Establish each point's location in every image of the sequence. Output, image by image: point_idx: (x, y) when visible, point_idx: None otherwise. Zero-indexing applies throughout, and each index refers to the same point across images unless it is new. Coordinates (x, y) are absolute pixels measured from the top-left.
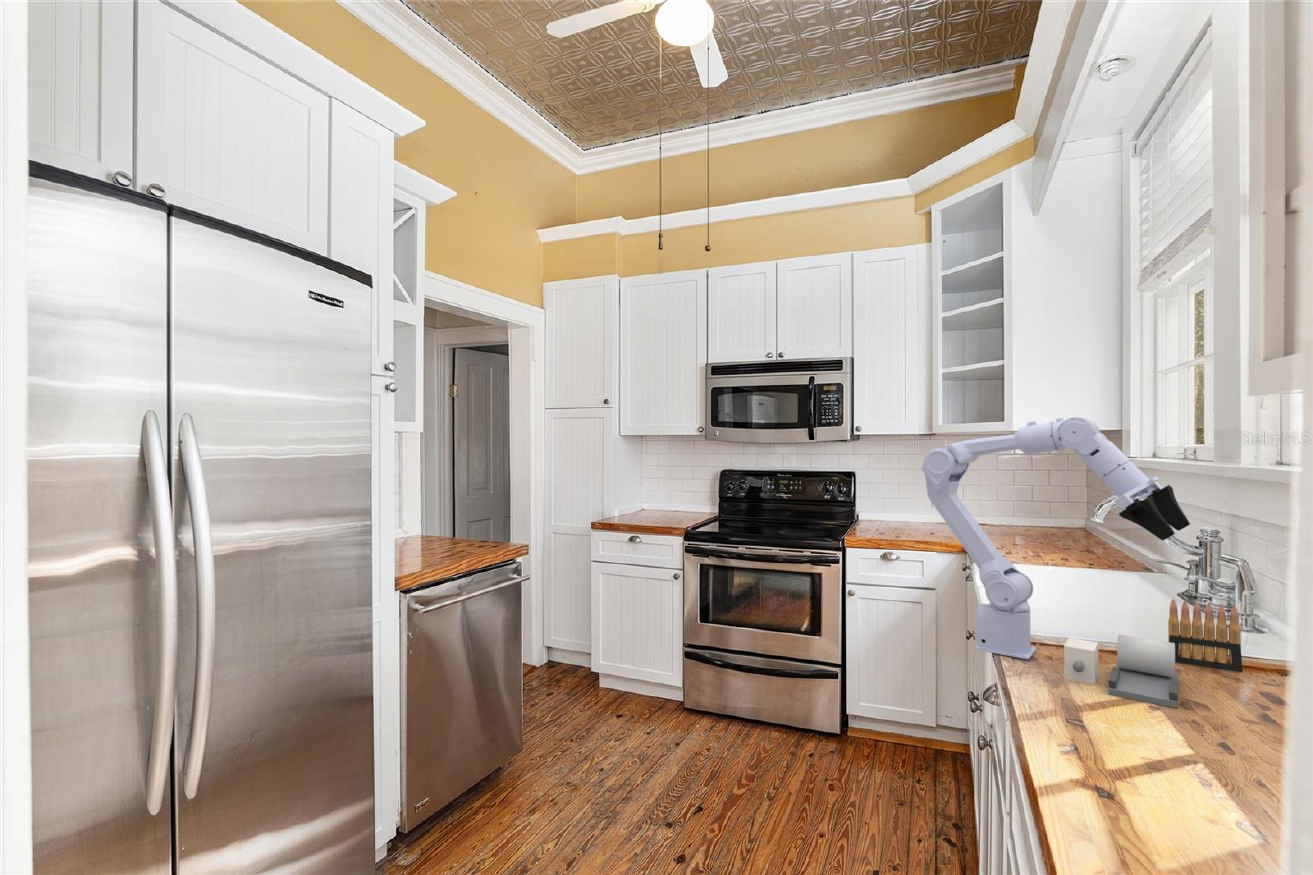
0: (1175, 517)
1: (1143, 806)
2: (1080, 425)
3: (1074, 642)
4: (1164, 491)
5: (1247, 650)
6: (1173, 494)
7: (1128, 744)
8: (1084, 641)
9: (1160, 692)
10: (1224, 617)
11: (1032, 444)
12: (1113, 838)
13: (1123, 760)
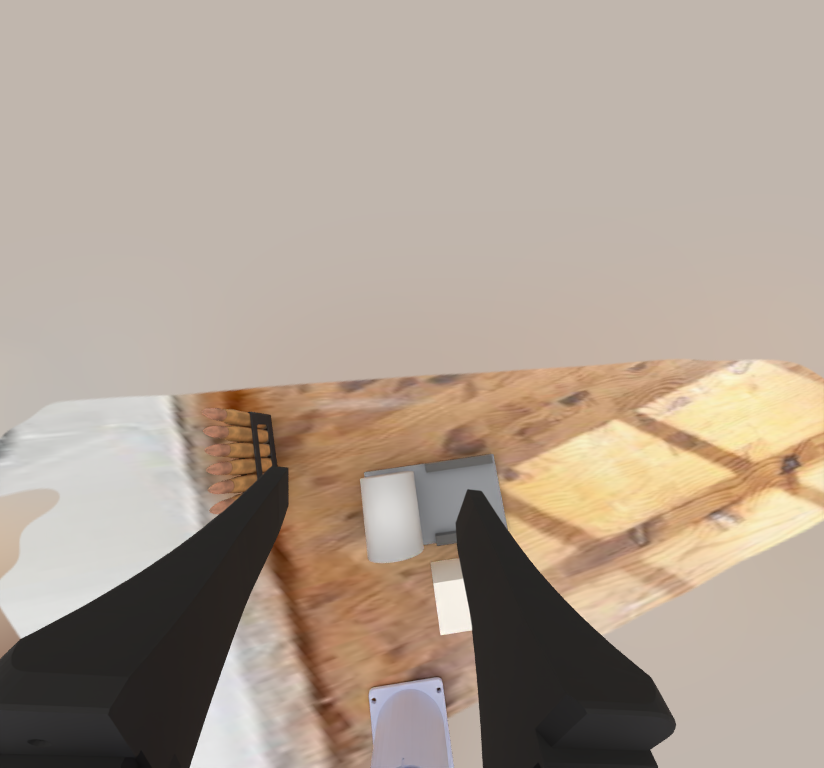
0: (262, 529)
1: (781, 432)
2: None
3: (464, 617)
4: (143, 686)
5: (139, 421)
6: (111, 601)
7: (653, 472)
8: (444, 604)
9: (470, 475)
10: (224, 427)
11: None
12: None
13: (700, 467)
